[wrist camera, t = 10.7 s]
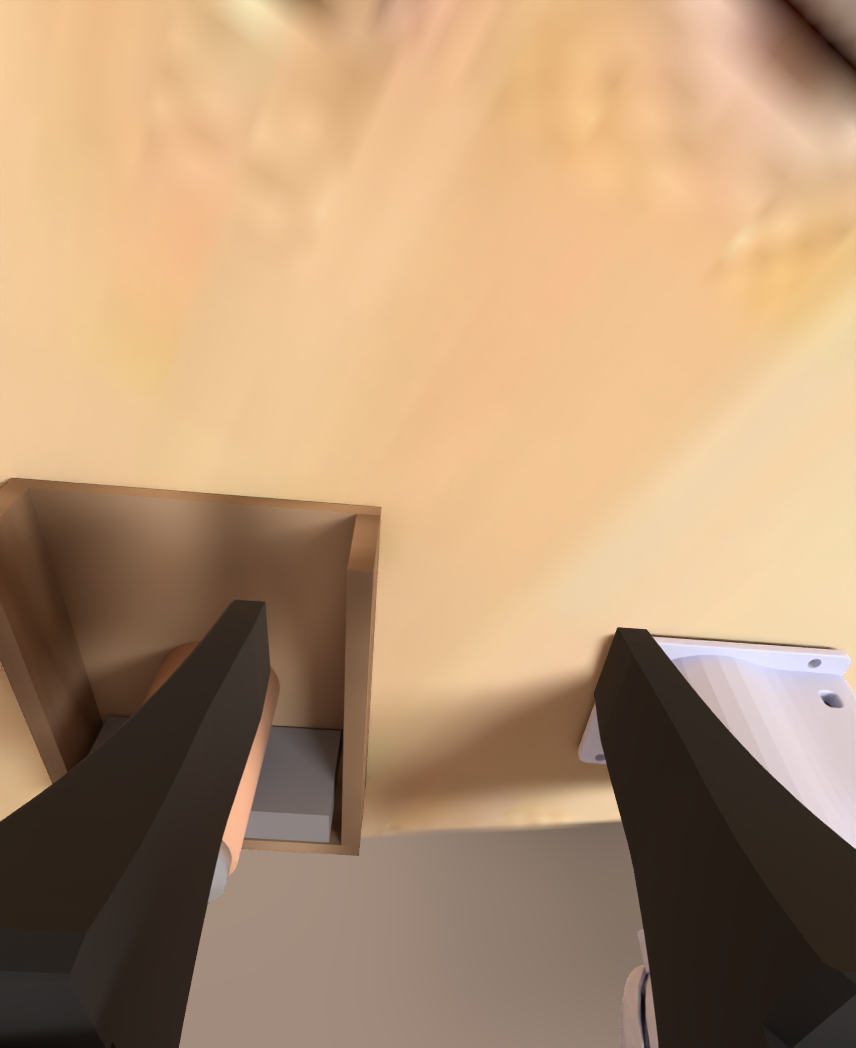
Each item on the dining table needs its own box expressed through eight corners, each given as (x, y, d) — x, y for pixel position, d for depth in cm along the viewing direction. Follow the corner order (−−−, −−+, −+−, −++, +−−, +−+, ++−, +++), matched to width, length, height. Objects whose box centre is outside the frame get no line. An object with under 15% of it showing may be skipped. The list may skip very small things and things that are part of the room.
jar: (279, 646, 26) (228, 841, 20) (280, 725, 29) (235, 918, 23) (152, 634, 26) (57, 828, 19) (165, 715, 29) (86, 907, 22)
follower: (340, 730, 29) (324, 845, 25) (340, 758, 30) (324, 871, 26) (108, 715, 29) (51, 829, 25) (116, 744, 30) (63, 857, 26)
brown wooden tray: (381, 507, 23) (373, 571, 20) (365, 785, 33) (358, 855, 30) (11, 477, 22) (-51, 539, 20) (108, 770, 32) (76, 839, 29)
